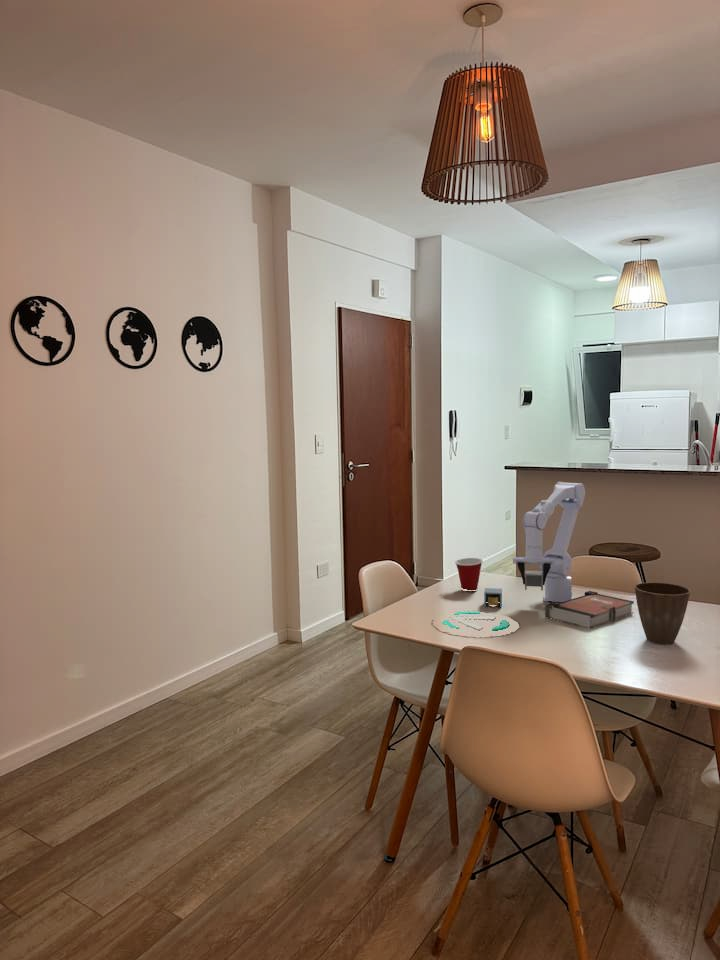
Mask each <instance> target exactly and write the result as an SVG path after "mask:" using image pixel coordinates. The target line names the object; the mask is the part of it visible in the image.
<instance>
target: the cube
mask: <svg viewBox="0 0 720 960" xmlns="http://www.w3.org/2000/svg"><path fill="white" fill-rule="evenodd" d="M488 605H497V606H498V607H499V604H498V595H488V603H487V606H488Z"/></svg>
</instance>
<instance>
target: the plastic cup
mask: <svg viewBox="0 0 720 960" xmlns="http://www.w3.org/2000/svg"><path fill="white" fill-rule="evenodd" d="M483 561H484V560H483V559H482V558H479V557H467V558H466V557H465V558H459V559H456V560H455V561H454V564H455V565H456V568H457V572H458V578H459V582H460V588H463V589H467V590H476V589H477V590H478V586H479V585H478V584H479V580H480V576H481V575H480V574H481V569H482V563H483Z"/></svg>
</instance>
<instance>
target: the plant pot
mask: <svg viewBox="0 0 720 960" xmlns="http://www.w3.org/2000/svg"><path fill="white" fill-rule="evenodd" d="M634 592H635V599H636V604H637V610H638V615H639V618H640V622H641V626H642V630H643V632H644V635H645V637H646V640H647V641H648V642H649V643H652V644H657V645H665V646H667V645H673V644H674V643H675V641H676V639H677V637H678V635H679V632H680V631H681V628H682V625H683V622H684V619H685V615H686V611H687V607H688V603H689V598H690V593H691V590H690V589H689V588H687V587H684V586H682V585H677V584H674V583H665V582H640V583H638V584H635V586H634Z"/></svg>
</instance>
